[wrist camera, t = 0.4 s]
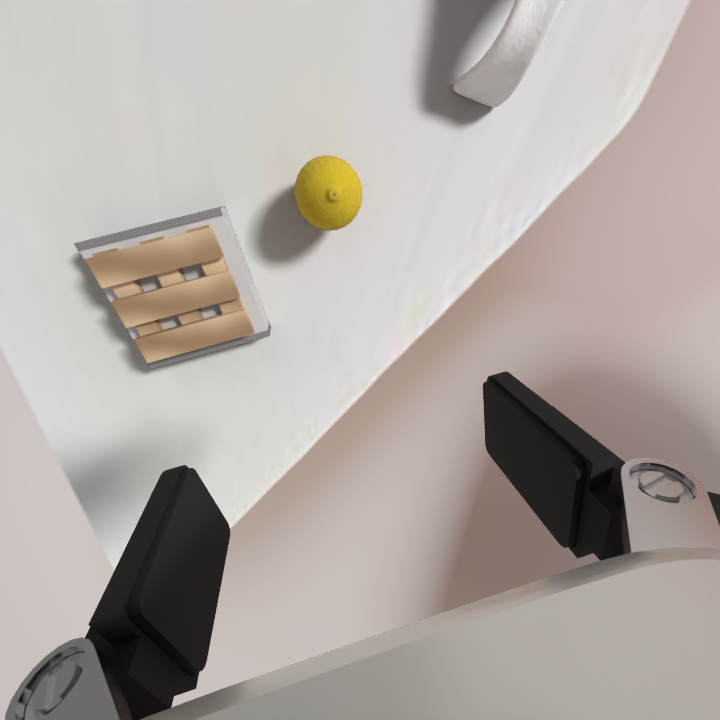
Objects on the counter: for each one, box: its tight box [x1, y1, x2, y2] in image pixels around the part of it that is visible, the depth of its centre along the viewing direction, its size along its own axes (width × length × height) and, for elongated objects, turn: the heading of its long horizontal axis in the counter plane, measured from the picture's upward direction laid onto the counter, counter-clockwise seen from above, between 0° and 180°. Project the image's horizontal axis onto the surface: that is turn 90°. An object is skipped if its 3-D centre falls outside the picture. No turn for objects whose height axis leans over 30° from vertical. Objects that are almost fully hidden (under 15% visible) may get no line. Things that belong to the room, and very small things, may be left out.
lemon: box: [295, 156, 362, 231], centre depth 27 cm, size 6×6×8 cm
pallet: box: [84, 224, 254, 363], centre depth 29 cm, size 10×10×2 cm
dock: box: [74, 207, 271, 369], centre depth 31 cm, size 12×12×3 cm
